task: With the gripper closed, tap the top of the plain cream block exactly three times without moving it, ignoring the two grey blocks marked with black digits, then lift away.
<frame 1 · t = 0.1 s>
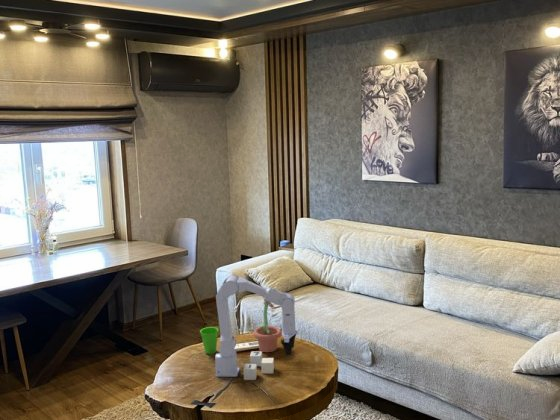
hand: (289, 351, 248), 10 cm above the table, tool pointing down, fingers open, 7 cm apart
grey block 7: (256, 363, 260), on the table
cream block: (267, 370, 252), on the table
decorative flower: (268, 350, 274), on the table
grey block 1: (250, 377, 247), on the table
cup: (210, 352, 275), on the table
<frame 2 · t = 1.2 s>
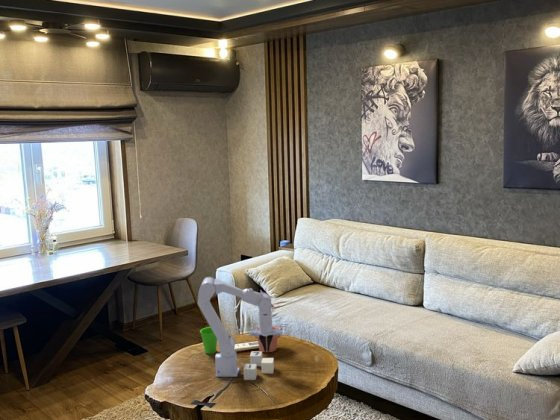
hand: (267, 350, 251), 9 cm above the table, tool pointing down, fingers closed
nothing on the table moved.
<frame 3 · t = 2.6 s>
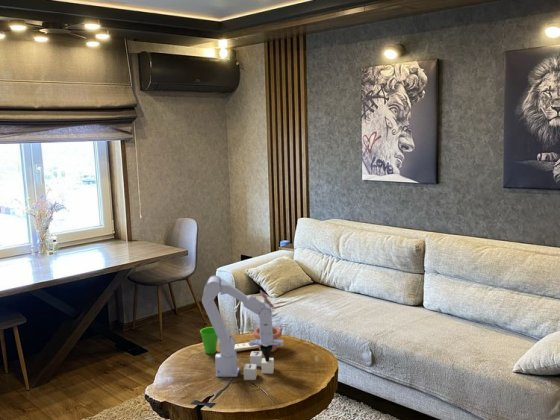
hand: (267, 360, 252), 5 cm above the table, tool pointing down, fingers closed, pressing on cream block
cream block: (268, 370, 252), on the table, touching gripper
everything else where it was.
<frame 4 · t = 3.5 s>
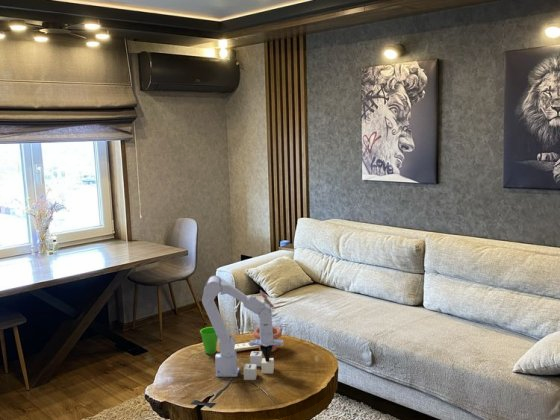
hand: (267, 360, 252), 5 cm above the table, tool pointing down, fingers closed, pressing on cream block
cream block: (268, 371, 252), on the table, touching gripper
everything else where it was.
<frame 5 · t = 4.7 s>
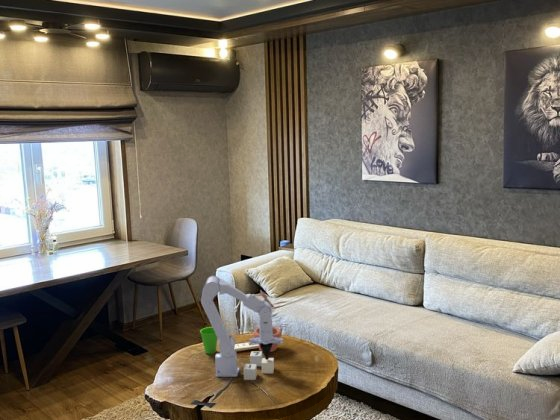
hand: (267, 358, 251), 6 cm above the table, tool pointing down, fingers closed
cream block: (268, 370, 252), on the table
everything else where it was.
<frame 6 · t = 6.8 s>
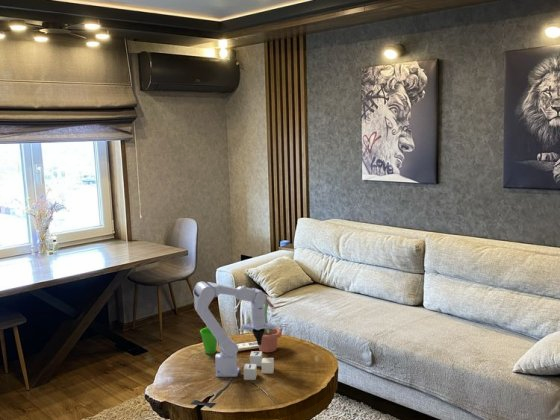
hand: (259, 344, 257), 10 cm above the table, tool pointing down, fingers closed
nothing on the table moved.
at the end: cream block moved 0.1 cm from its start; cream block tilted 0°; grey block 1 moved 0.1 cm from its start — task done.
